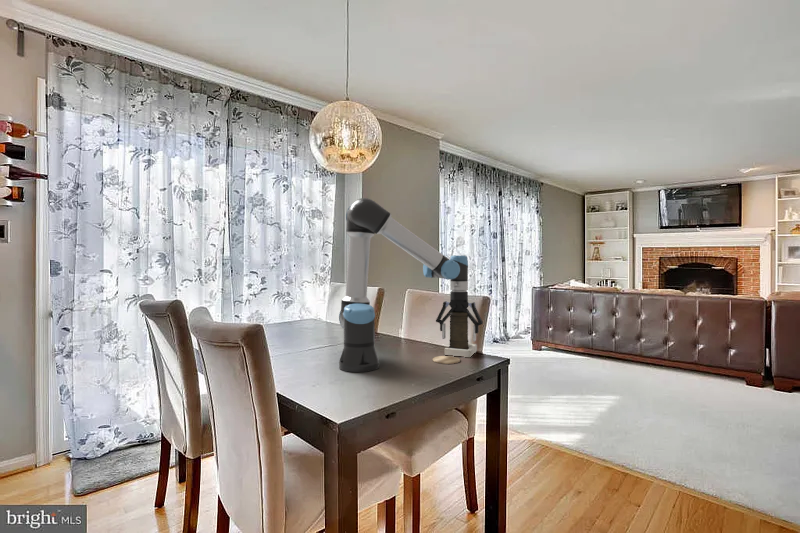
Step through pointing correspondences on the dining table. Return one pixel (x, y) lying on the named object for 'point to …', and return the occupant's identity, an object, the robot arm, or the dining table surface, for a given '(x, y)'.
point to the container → (458, 330)
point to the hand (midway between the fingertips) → (458, 339)
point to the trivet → (446, 359)
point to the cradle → (462, 351)
